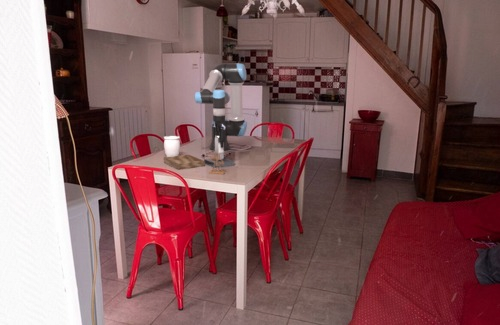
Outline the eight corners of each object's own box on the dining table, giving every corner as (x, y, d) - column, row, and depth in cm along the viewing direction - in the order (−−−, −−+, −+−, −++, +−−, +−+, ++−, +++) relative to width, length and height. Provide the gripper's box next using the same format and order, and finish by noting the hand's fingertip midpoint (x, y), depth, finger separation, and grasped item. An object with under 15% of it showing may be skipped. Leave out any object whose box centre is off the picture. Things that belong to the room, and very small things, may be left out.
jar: (164, 160, 252) (163, 138, 249) (164, 156, 262) (163, 135, 259) (180, 159, 254) (179, 137, 251) (180, 156, 264) (179, 135, 261)
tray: (189, 159, 256) (188, 154, 255) (204, 166, 238) (204, 160, 237) (163, 162, 245) (163, 157, 245) (178, 169, 228) (178, 164, 227)
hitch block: (222, 161, 253) (222, 156, 252) (234, 165, 241) (234, 160, 241) (204, 163, 245) (204, 159, 244) (215, 168, 234) (215, 163, 233)
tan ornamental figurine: (225, 173, 223) (225, 153, 220) (223, 174, 219) (223, 154, 216) (211, 171, 225) (211, 152, 222) (208, 173, 221) (208, 153, 218)
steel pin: (220, 157, 246) (220, 134, 242) (224, 159, 242) (224, 135, 238) (213, 158, 243) (213, 135, 239) (217, 160, 239) (217, 136, 236)
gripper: (207, 114, 240) (207, 150, 246) (221, 116, 227) (221, 154, 232) (217, 113, 245) (217, 148, 250) (231, 116, 231) (231, 153, 237)
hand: (219, 151), depth 241 cm, fingers closed on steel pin, 4 cm apart
